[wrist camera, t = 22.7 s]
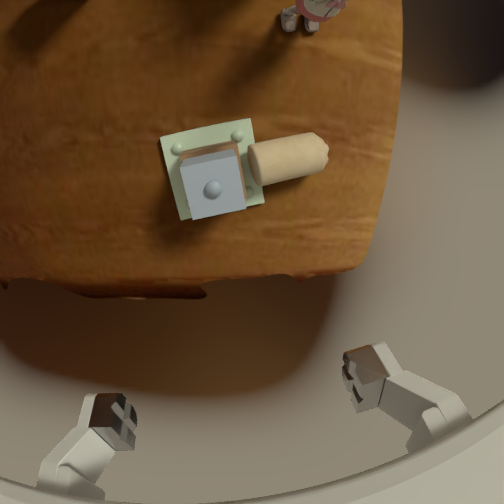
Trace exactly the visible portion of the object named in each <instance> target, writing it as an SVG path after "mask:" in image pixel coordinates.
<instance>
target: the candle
mask: <svg viewBox="0 0 504 504" xmlns="http://www.w3.org/2000/svg"><path fill="white" fill-rule="evenodd" d="M328 151H329V147H328V146H327V145H326V144H325V143H324V141H323V140H322V139H321V138H319V137H318V136H317V135H316V134H314V133H312V132H310V133H304V134H298V135H293V136H288V137H283V138H278V139H273V140H268V141H263V142H259V143H255V144H251V145H249V146H248V148H247V156H248V162H249V167H250V170H251V173H252V176H253V179H254V181H255V183H256V184H257V186H265V185H269V184H273V183H277V182H281V181H285V180H289V179H293V178H298V177H302V176H306V175H310V174H315V173H319V172H321V171H322V170H323V169H324V167H325V165H326V163H327V162H328V157H327V154H328Z"/></svg>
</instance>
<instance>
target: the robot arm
mask: <svg viewBox="0 0 504 504" xmlns="http://www.w3.org/2000/svg"><path fill="white" fill-rule="evenodd" d="M343 361H344V363H345V364H344V366H343V367H342V376H343V381H344V384H345V387H346V389H347V391H349V392H351V393H352V395H351V401H352V403H353V406H354V408H355V410H356V412H357V413H359V412H363V411H366V410H369V409H373V408H375V407H379V408H380V409H381V410H382V411H384V412H385V413H387V414H388V415H390V416H391V417H393V418H394V419H395V420H397V421H399V422H400V423H401V424H403V425H405V426H406V427H408V428H409V429H410V430H412V431H413V432H412V434H411V436H410V438H409V440H408V442H407V444H406V448H407V450H408V452H409V454H406V455H404V456H402V457H399V458H397V459H394V460H392V461H390V462H387V463H385V464H382V465H379V466H377V467H374V468H372V469H369V470H366V471H363V472H360V473H357V474H354V475H351V476H348V477H345V478H342V479H338V480H335V481H332V482H328V483H324V484H321V485H317V486H313V487H309V488H305V489H301V490H296V491H291V492H286V493H281V494H276V495H270V496H264V497H258V498H252V499H244V500H236V501H227V502H215V503H200V504H504V400H502V401H501V402H500V403H498V404H497V405H495V406H494V407H492V408H491V409H489V410H488V411H486V412H485V413H483V414H481V415H480V416H478V417H477V418H475V419H472V417H471V416H470V414H469V412H468V411H467V409H466V408H465V406H464V405H463V403H462V402H461V400H460V398H459V397H458V395H457V394H455V393H453V392H451V391H449V390H447V389H445V388H443V387H440V386H438V385H436V384H434V383H432V382H430V381H428V380H426V379H424V378H422V377H420V376H418V375H415V374H413V373H411V372H409V371H407V370H406V371H403V370H402V369H401V367H400V365H399V364H398V362H397V361H396V359H395V357H394V356H393V354H392V353H391V351H390V350H389V348H388V346H387V345H386V343H385V342H384V341H379V342H376V343H373V344H370V345H366V346H363V347H360V348H357V349H354V350H350V351H347V352H344V354H343ZM136 427H137V415H136V411H135V409H134V407H133V406H132V405H131V404H129V403H127V402H126V397H125V396H124V395H123V393H102V394H87V395H86V396H85V398H84V402H83V405H82V409H81V413H80V417H79V421H78V425H77V427H74V428H73V429H72V430H71V431H70V432H69V433H68V434H67V435H66V436H65V437H64V438H63V440H62V441H61V442H60V443H59V444H58V445H57V446H56V447H55V448H54V449H53V450H52V451H51V452H50V454H49V455H48V456H47V457H46V458H45V459H44V460H43V461H42V463H41V468H40V472H39V477H38V481H37V487H33V486H29V485H25V484H22V483H19V482H15V481H12V480H9V479H5V478H3V477H0V504H141V503H126V502H114V501H105V500H104V498H105V492H104V491H103V490H102V489H101V488H99V487H98V486H96V485H94V484H95V482H96V481H97V479H98V478H99V476H100V475H101V473H102V472H103V470H104V469H105V467H106V466H107V464H108V463H109V461H110V460H111V458H112V457H113V455H114V454H115V451H127V450H134V448H135V438H136V436H135V434H134V433H133V431H134V429H135V428H136Z"/></svg>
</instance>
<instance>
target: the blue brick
mask: <svg viewBox="0 0 504 504" xmlns="http://www.w3.org/2000/svg"><path fill="white" fill-rule="evenodd" d="M180 171H181V175H182V179H183V183H184V188H185V192H186V196H187V200H188V203H189V207H190V211H191V215H192V219H193V220H196V219H200V218H205V217H210V216H214V215H219V214H224V213H228V212H233V211H238V210H243V209H246V203H245V198H244V193H243V187H242V182H241V177H240V171H239V166H238V161H237V155H236V153H235V151H234V149H229V150H224V151H219V152H215V153H210V154H205V155H201V156H197V157H192V158H188V159H184V160H183V162H182V164H181V166H180Z"/></svg>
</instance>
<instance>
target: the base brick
mask: <svg viewBox="0 0 504 504" xmlns="http://www.w3.org/2000/svg"><path fill="white" fill-rule="evenodd" d="M229 149H234V151H235V153H236V155H237V161H238V166H239V171H240V177H241V182H242V187H243V193H244V198H247V194H246V188H245V183H244V177H243V172H242V167H241V161H240V156H239V150H238V145H237V142H236V141H235V140H231V141H226V142H221V143H216V144H212V145H207V146H202V147H198V148H193V149H189V150H185V151H182V152H181V154H180V156H179V157H180V161H181V164H182V162H183V160H184V159H188V158H192V157H197V156H201V155H205V154H210V153H215V152H219V151H224V150H229Z"/></svg>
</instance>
